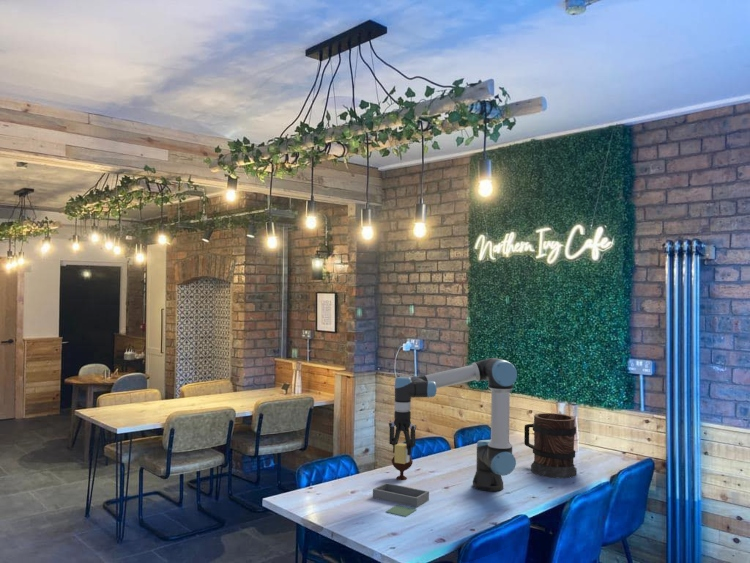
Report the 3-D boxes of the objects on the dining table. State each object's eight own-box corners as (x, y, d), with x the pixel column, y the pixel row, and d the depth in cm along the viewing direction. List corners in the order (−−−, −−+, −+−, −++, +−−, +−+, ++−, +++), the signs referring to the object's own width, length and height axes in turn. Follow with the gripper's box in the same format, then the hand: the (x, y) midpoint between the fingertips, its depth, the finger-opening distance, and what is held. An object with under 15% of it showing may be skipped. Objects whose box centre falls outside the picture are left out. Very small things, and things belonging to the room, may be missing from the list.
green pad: (416, 511, 271) (416, 509, 271) (405, 517, 262) (405, 516, 262) (396, 506, 276) (396, 504, 276) (385, 513, 268) (385, 511, 268)
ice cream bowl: (387, 479, 317) (388, 450, 317) (397, 474, 327) (397, 445, 327) (406, 483, 312) (407, 453, 312) (415, 477, 322) (416, 448, 322)
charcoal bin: (428, 501, 285) (429, 491, 285) (416, 508, 274) (417, 498, 274) (385, 492, 296) (385, 482, 297) (372, 498, 286) (372, 489, 286)
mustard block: (409, 461, 287) (409, 444, 287) (404, 464, 282) (404, 446, 283) (399, 460, 289) (400, 442, 289) (394, 462, 285) (394, 445, 285)
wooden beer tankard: (562, 480, 322) (563, 423, 323) (513, 468, 343) (514, 414, 344) (584, 472, 339) (584, 417, 339) (536, 461, 360) (537, 409, 360)
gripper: (423, 411, 285) (423, 462, 284) (389, 407, 294) (389, 456, 294) (416, 414, 279) (415, 465, 278) (381, 409, 288) (381, 459, 287)
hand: (402, 460), depth 286 cm, fingers closed on mustard block, 5 cm apart
